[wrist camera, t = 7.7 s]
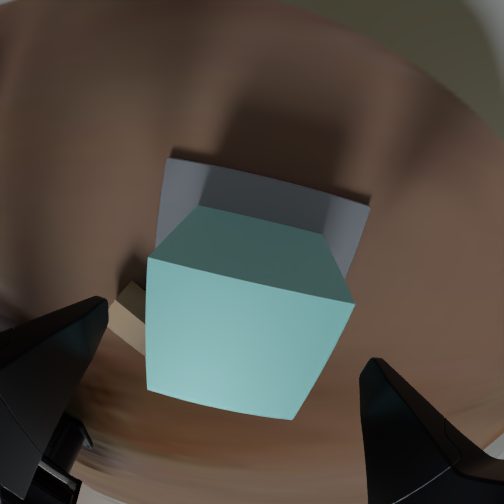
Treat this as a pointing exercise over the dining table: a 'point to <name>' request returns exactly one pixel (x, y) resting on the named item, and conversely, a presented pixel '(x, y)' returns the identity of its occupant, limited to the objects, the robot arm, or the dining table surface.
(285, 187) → the coaster
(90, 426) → the dining table surface
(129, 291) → the tan bar
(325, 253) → the teal block
